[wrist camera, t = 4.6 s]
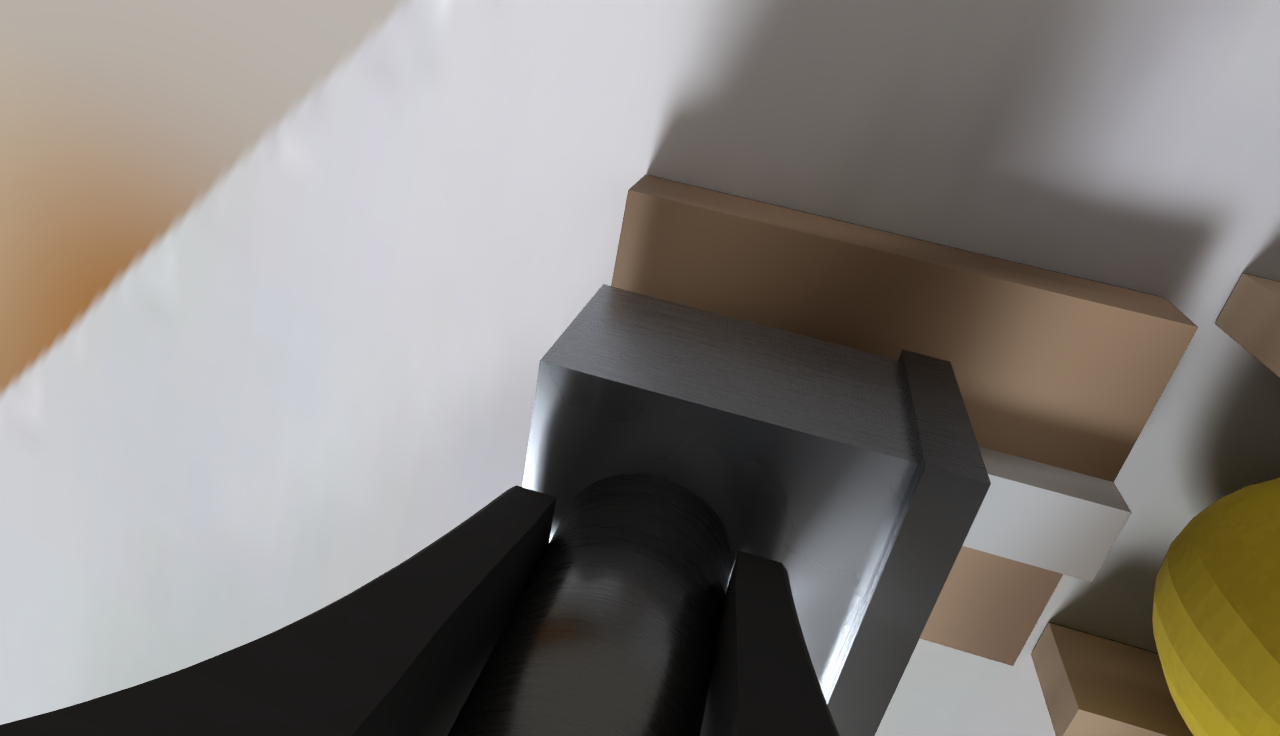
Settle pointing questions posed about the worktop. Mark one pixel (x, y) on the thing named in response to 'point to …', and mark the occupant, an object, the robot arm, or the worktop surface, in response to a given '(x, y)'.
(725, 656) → the robot arm
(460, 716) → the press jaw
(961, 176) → the worktop surface
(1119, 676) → the lemon cradle
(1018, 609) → the press bed
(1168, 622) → the lemon
